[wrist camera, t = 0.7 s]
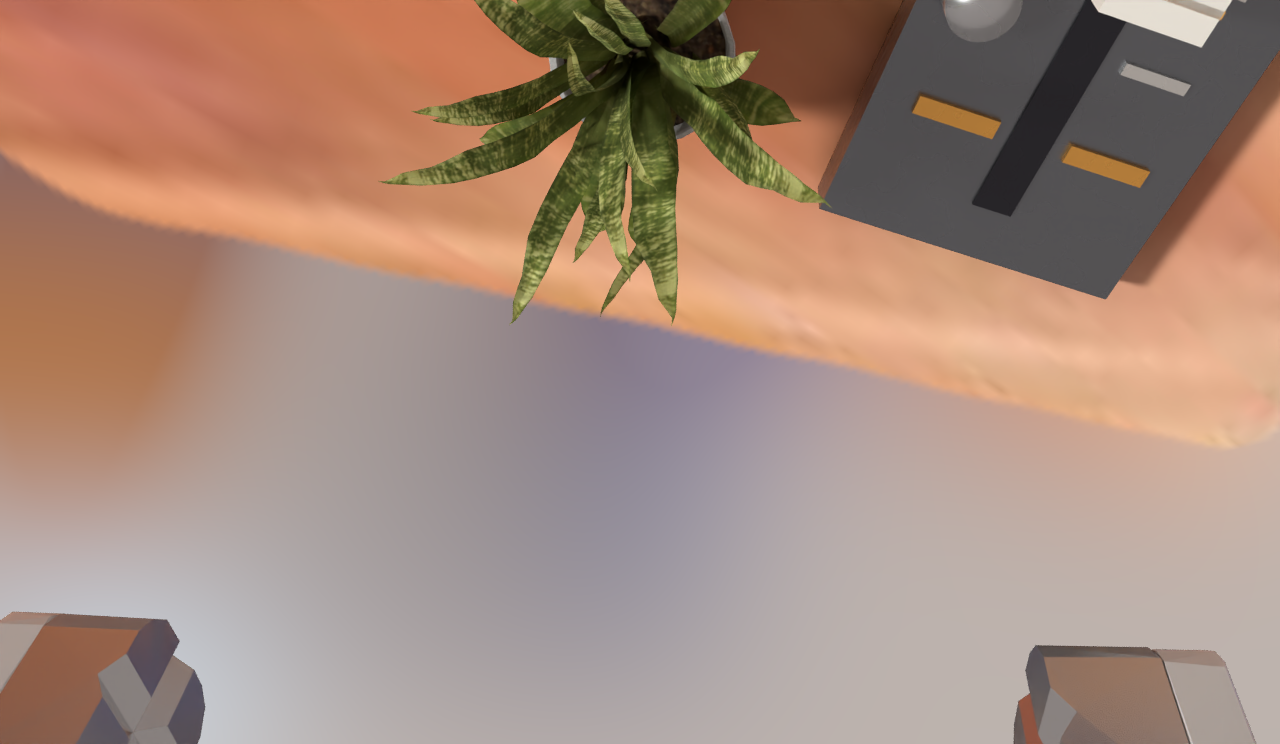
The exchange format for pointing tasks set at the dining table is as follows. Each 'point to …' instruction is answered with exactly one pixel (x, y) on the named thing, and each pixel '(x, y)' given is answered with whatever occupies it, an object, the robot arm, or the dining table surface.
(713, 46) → the house plant
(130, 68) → the dining table surface
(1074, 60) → the console
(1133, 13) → the fader cap
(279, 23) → the dining table surface
